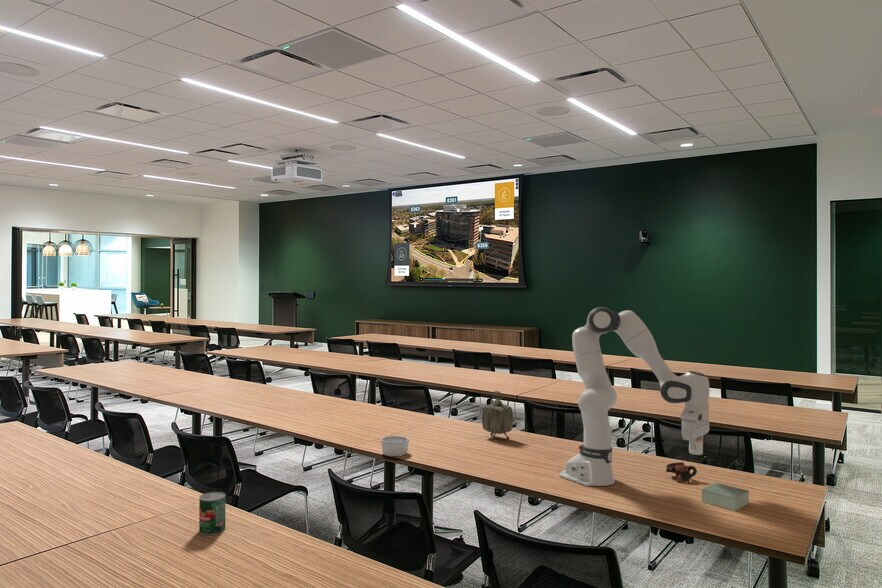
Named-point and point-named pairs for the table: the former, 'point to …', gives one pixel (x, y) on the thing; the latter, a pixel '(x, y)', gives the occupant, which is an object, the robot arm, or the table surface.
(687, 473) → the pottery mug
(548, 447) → the table surface
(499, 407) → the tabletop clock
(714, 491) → the sage box
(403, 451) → the ramekin
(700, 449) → the pink capped tube
